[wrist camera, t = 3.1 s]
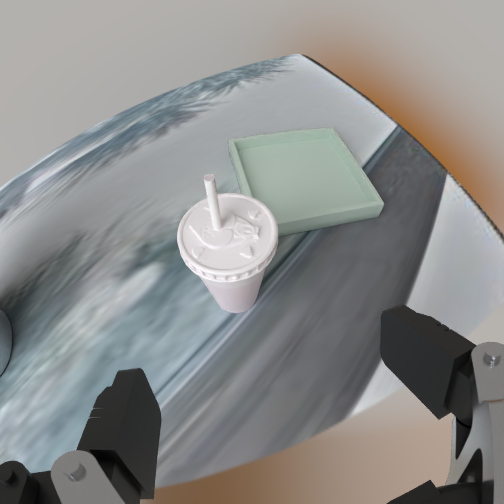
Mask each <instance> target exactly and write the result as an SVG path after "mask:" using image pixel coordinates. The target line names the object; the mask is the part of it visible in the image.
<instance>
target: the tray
mask: <svg viewBox="0 0 504 504" xmlns="http://www.w3.org/2000/svg"><path fill="white" fill-rule="evenodd" d="M228 144H229V154H230V157H231V161H232V164H233V167H234V171H235V174H236V177H237V181H238V184H239V187H240V190H241V194H245V195H248V196H251V197H253V198H256V199H257V200H259V201H261V202H262V203H264V204H265V205H266V206H267V207H268V208H269V209H270V211H271V212H272V213H273V215H274V217H275V219H276V222H277V226H278V237H281V236H286V235H290V234H295V233H300V232H305V231H310V230H315V229H320V228H325V227H330V226H335V225H340V224H345V223H350V222H355V221H360V220H365V219H370V218H375V217H379V214H380V212H381V210H382V208H383V206H384V202H383V201H382V199H381V198H380V196H379V194H378V193H377V191H376V190H375V188H374V186H373V185H372V183H371V182H370V180H369V179H368V177H367V176H366V174H365V173H364V171H363V170H362V168H361V167H360V165H359V164H358V162H357V161H356V159H355V158H354V156H353V155H352V153H351V152H350V151H349V149H348V148H347V146H346V145H345V144H344V142H343V141H342V139H341V138H340V137H339V135H338V134H337V133H336V131H335V130H334V129H333V127H329V128H317V129H306V130H296V131H287V132H279V133H271V134H263V135H256V136H249V137H243V138H236V139H230V140H228Z"/></svg>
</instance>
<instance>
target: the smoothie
mask: <svg viewBox="0 0 504 504" xmlns="http://www.w3.org/2000/svg"><path fill="white" fill-rule="evenodd" d="M204 183H205V188H206V193H207V198H205V199H203V200H201V201H199V202H198V203H196V204H195V205H193V206H192V207H191V208H190V209H189V210H188V211H187V212H186V214H185V215H184V216H183V218H182V220H181V222H180V224H179V227H178V232H177V241H178V246H179V249H180V254H181V256H182V258H183V260H184V262H185V264H186V265H187V266H188V267H189V268H190V269H191V270H192V271H193V272H194V273H195V274H197V275H199V276H200V278H201V279H202V281H203V282H204V284H205V285H206V287H207V288H208V290H209V291H210V293H211V294H212V295H213V297H214V298H215V300H216V301H217V303H218V304H219V306H220V307H221V308H222V309H224V310H225V311H227V312H230V313H242V312H245V311H247V310H248V309H250V308H251V307H252V306H253V305H254V303H255V301H256V298H257V295H258V292H259V289H260V286H261V282H262V279H263V276H264V272H265V269H266V266H267V265H268V264H269V263H270V261H271V260H272V258H273V257H274V255H275V253H276V249H277V246H278V226H277V222H276V219H275V217H274V215H273V213H272V212H271V211H270V209H269V208H268V207H267V206H266V205H265V204H264V203H262V202H261V201H259V200H257V199H256V198H253V197H251V196H248V195H245V194H240V193H221V194H217V190H216V184H215V177H214V175H213V174H207V175H205V176H204Z"/></svg>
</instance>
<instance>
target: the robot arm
mask: <svg viewBox="0 0 504 504" xmlns="http://www.w3.org/2000/svg"><path fill="white" fill-rule="evenodd" d="M11 348H12V330H11V325H10V321H9V319H8V317H7V315H6V314H5V313H4V312H3V311H2V310H1V309H0V375H1V374H2V373H3V371H4V369H5V368H6V366H7V363H8V361H9V358H10V353H11ZM380 351H381V357H382V360H383V362H384V364H385V365H386V366H387V367H388V368H389V369H390V370H391V371H392V372H393V373H394V374H395V375H396V376H397V377H398V378H399V379H400V380H401V381H402V382H403V383H404V384H405V385H406V387H408V389H409V390H410V391H411V392H412V393H413V394H414V395H415V396H416V397H417V398H418V399H419V400H420V401H421V402H422V403H423V404H424V405H425V406H426V407H427V408H428V409H429V410H430V411H431V412H432V413H433V414H434V415H435V416H436V417H437V418H438V419H441V418H442V417H444V416H446V415H447V414H449V413H453V414H454V418H453V421H452V450H451V465H450V471H449V475H448V478H447V481H446V484H445V486H441V487H437V488H436V487H435V485H434V484H433V483H432V481H431V480H429V481H427V482H425V483H424V484H422V485H420V486H418V487H416V488H415V489H413V490H411V491H409V492H407V493H405V494H403V495H402V496H400V497H397V498H396V499H393V500H391V501H390V502H388V503H387V504H504V345H503V344H500V343H496V342H487V343H482V344H480V345H478V346H476V345H475V344H473V343H472V342H470V341H469V340H467V339H466V338H464V337H463V336H461V335H459V334H458V333H456V332H455V331H453V330H452V329H450V330H449V328H448V327H447V326H445V325H444V324H441V323H440V322H439V321H437V320H436V319H434V318H432V317H430V316H427V315H423V314H420V313H416V312H415V311H413V310H412V309H410V308H409V307H407V306H405V305H399V306H396V307H393V308H391V309H388V310H385V311H383V312H382V315H381V344H380ZM89 417H90V419H88V421H87V424H86V426H85V429H84V431H83V434H82V437H81V439H80V442H79V444H78V447H77V450H76V451H71V452H68V453H65V454H63V455H62V456H60V457H59V458H58V459H57V460H56V461H55V463H54V464H53V466H52V469H51V471H45V472H38V473H30V472H29V471H28V470H27V469H26V468H25V466H24V465H23V464H22V463H20V462H18V461H8V462H5V463H3V464H1V465H0V504H140V499H154V488H155V476H156V465H157V455H158V446H159V437H160V428H161V412H160V408H159V405H158V402H157V400H156V398H155V396H154V394H153V392H152V389H151V387H150V385H149V383H148V380H147V378H146V376H145V373H144V371H143V370H142V369H141V368H136V369H128V370H120V371H118V372H117V374H116V377H115V379H114V382H113V384H112V386H110V387H106V388H105V389H104V391H103V392H102V393H101V394H100V395H99V396H98V397H97V399H96V402H95V404H94V406H93V410H92V411H91V414H90V416H89Z"/></svg>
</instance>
